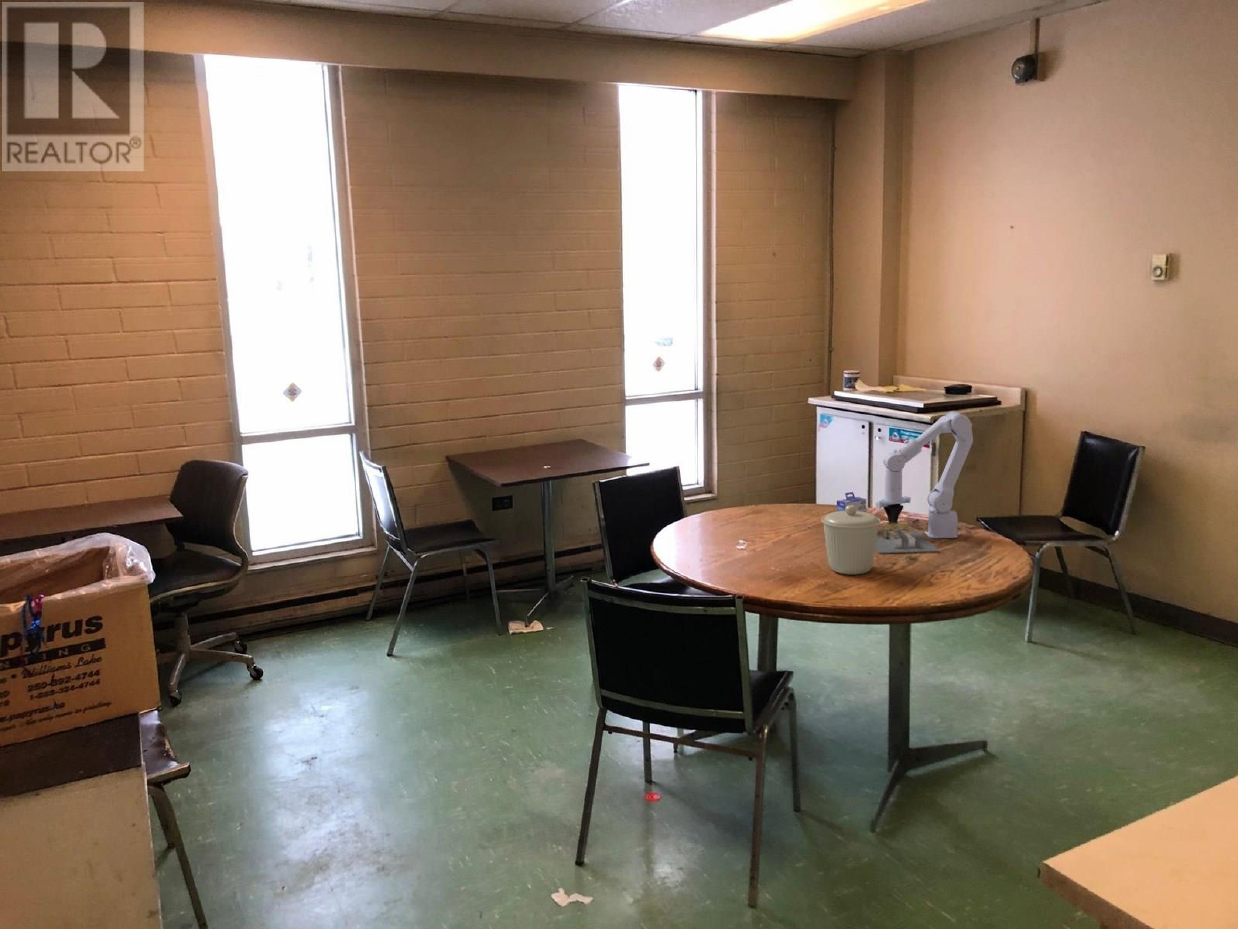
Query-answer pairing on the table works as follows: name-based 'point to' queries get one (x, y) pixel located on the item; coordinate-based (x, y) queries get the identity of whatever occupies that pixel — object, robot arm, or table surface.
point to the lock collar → (893, 526)
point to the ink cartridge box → (852, 503)
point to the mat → (920, 544)
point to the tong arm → (894, 538)
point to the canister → (850, 540)
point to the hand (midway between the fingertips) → (892, 525)
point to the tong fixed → (906, 538)
